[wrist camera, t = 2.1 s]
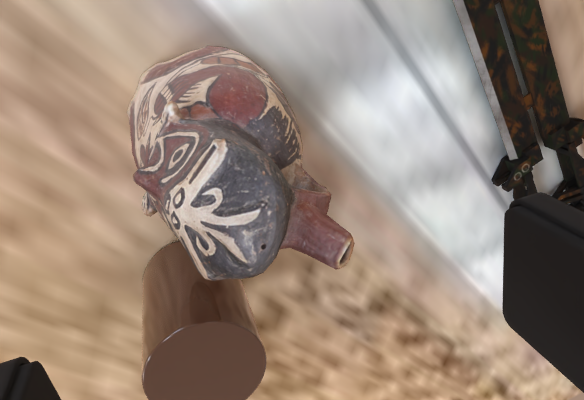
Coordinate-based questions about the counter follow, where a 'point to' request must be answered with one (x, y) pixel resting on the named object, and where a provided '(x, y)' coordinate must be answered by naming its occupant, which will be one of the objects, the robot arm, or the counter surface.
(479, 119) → the counter surface
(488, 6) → the dark flat slotted piece
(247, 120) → the figurine
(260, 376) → the glossy brown cylinder
